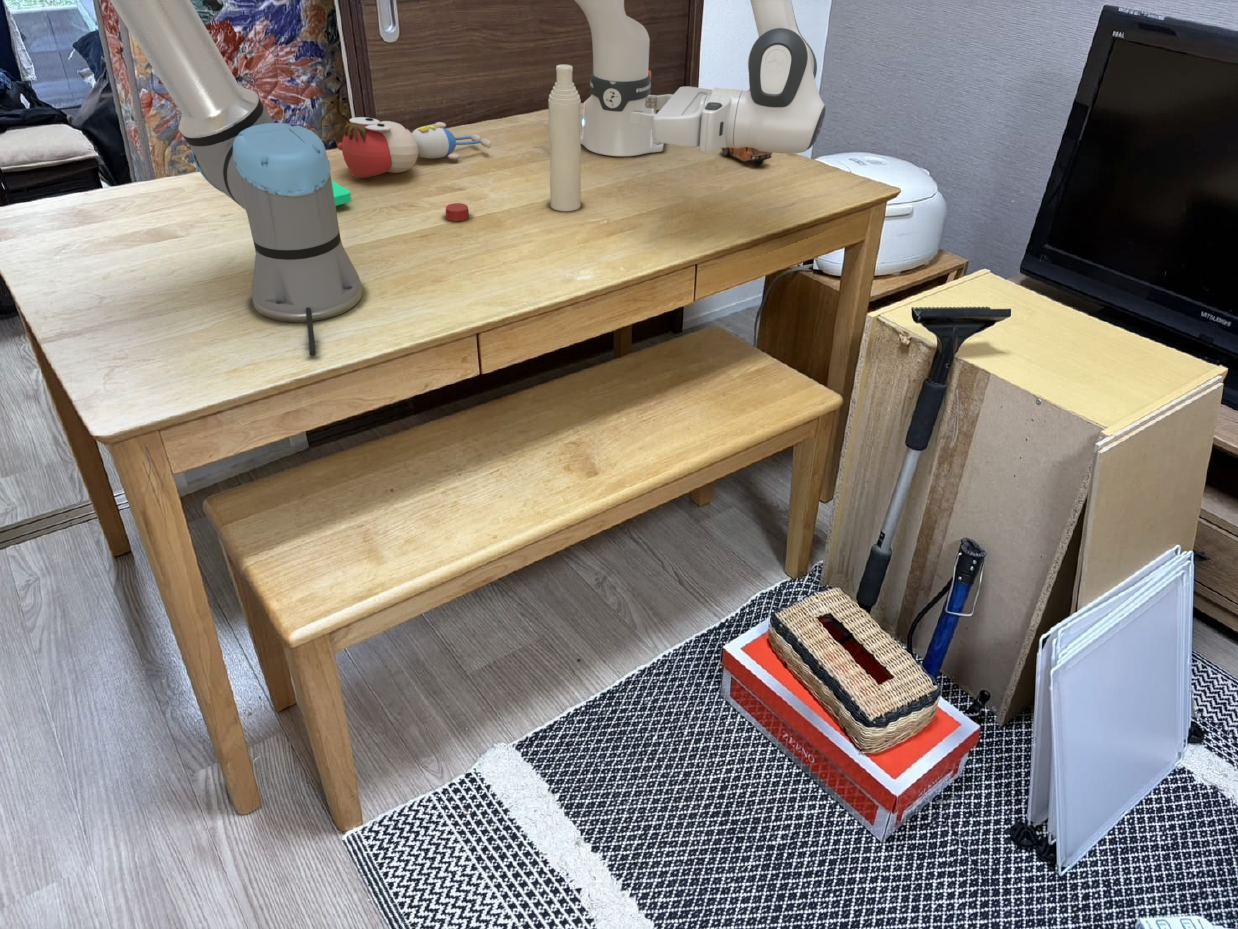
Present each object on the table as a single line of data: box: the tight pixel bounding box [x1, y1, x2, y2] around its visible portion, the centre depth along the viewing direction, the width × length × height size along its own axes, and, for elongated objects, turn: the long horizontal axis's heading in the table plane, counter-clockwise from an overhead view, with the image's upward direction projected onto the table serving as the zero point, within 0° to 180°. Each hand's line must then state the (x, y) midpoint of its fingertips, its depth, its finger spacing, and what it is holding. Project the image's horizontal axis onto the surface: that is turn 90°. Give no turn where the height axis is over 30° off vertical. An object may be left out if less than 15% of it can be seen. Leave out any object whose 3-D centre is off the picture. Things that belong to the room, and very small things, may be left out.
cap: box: [445, 202, 470, 223], centre depth 160 cm, size 4×4×2 cm
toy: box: [336, 116, 492, 179], centre depth 179 cm, size 18×10×30 cm
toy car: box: [720, 147, 773, 167], centre depth 186 cm, size 6×12×7 cm, turn 39°
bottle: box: [547, 63, 582, 212], centre depth 159 cm, size 5×5×24 cm
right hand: (638, 108), depth 153 cm, fingers open, 8 cm apart
